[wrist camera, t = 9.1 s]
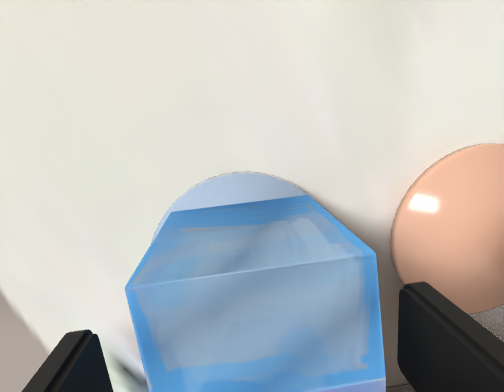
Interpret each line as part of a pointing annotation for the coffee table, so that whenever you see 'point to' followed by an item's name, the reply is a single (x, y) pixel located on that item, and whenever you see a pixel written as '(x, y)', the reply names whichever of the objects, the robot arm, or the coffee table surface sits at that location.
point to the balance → (401, 388)
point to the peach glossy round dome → (455, 228)
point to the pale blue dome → (232, 192)
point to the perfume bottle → (258, 302)
